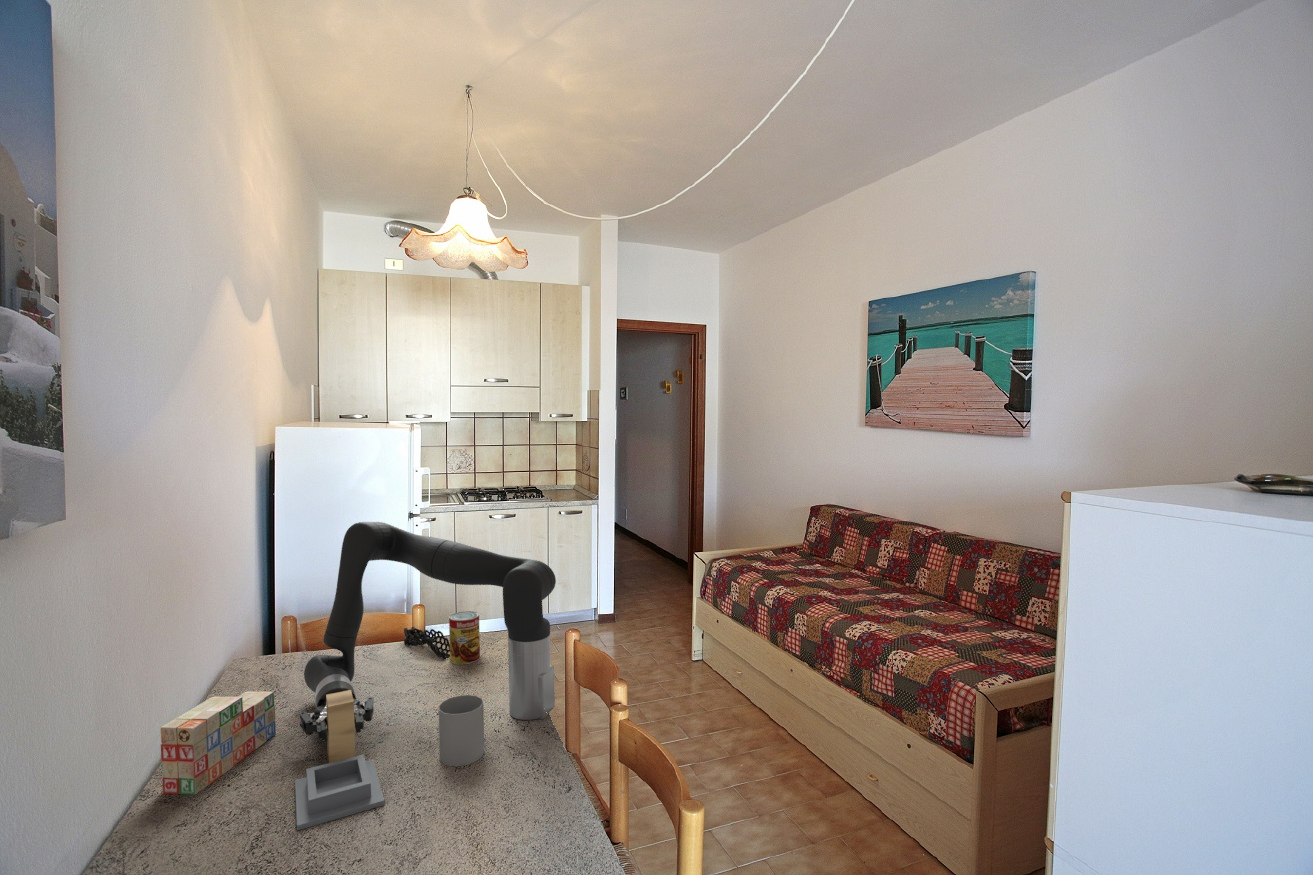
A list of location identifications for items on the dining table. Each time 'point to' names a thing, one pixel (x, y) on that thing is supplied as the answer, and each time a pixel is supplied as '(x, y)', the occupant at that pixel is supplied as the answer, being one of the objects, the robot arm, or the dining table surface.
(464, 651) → the canned food
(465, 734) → the cup
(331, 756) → the wooden block
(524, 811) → the dining table surface
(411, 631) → the decorative element
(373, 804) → the grey socket base
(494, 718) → the dining table surface
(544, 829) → the dining table surface
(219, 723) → the stack of blocks
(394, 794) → the dining table surface
